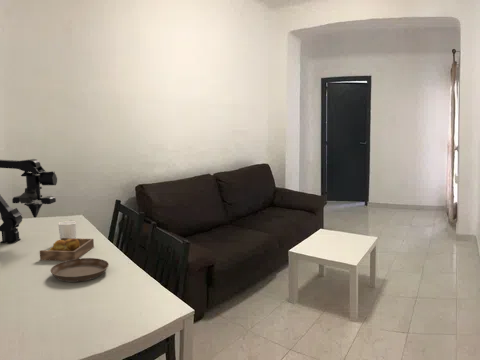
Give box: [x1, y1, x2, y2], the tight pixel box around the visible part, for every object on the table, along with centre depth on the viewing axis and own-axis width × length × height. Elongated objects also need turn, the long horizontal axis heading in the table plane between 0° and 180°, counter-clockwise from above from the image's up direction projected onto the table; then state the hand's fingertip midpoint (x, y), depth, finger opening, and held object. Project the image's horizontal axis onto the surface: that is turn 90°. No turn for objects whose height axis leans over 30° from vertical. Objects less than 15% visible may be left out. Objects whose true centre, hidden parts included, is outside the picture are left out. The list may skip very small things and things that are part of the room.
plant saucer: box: [49, 257, 109, 283], centre depth 149 cm, size 21×21×3 cm
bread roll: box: [48, 239, 80, 251], centre depth 171 cm, size 13×10×8 cm
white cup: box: [58, 220, 77, 240], centre depth 187 cm, size 8×8×10 cm
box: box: [39, 237, 95, 262], centre depth 173 cm, size 15×19×4 cm
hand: (35, 217), depth 189 cm, fingers closed
